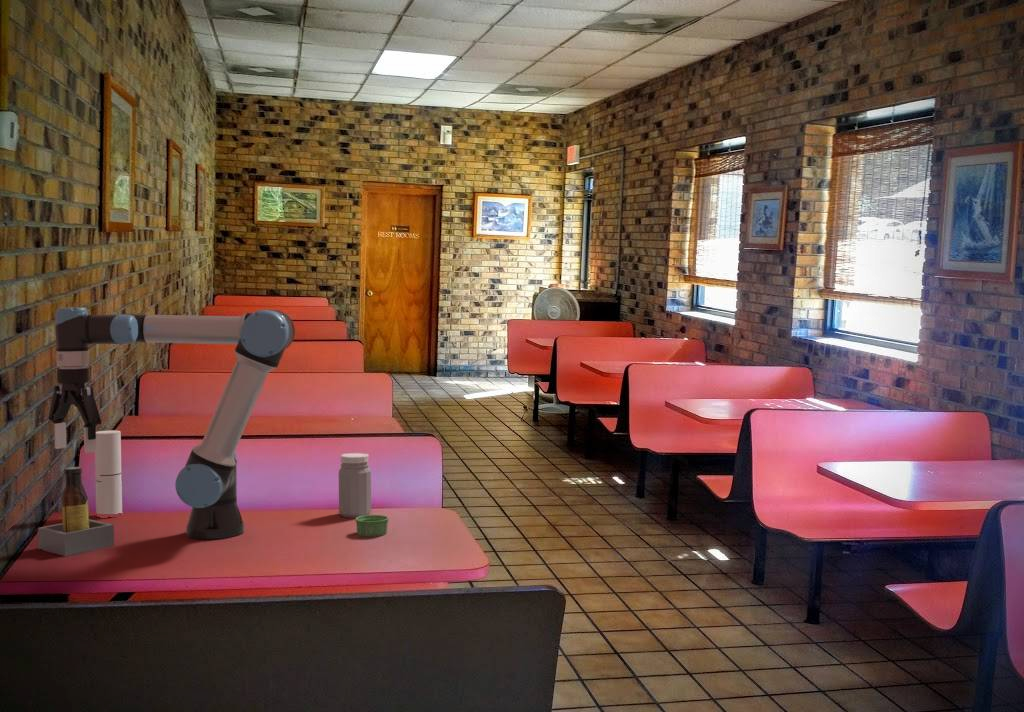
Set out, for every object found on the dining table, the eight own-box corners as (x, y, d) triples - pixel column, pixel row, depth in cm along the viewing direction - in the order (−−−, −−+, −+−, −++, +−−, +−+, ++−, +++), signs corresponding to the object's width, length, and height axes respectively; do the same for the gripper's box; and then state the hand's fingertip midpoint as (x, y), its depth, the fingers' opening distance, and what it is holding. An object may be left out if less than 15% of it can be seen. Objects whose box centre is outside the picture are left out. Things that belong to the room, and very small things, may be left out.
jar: (335, 512, 297) (334, 453, 296) (367, 510, 301) (366, 451, 300) (342, 519, 288) (342, 458, 287) (375, 516, 292) (375, 456, 291)
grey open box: (114, 545, 257) (113, 524, 256) (65, 556, 246) (64, 534, 245) (87, 539, 264) (86, 518, 263) (38, 549, 253) (37, 527, 253)
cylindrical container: (116, 518, 289) (114, 433, 288) (92, 518, 289) (90, 433, 288) (126, 513, 296) (124, 430, 295) (102, 513, 297) (100, 430, 295)
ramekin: (395, 533, 271) (395, 517, 271) (369, 539, 264) (369, 523, 264) (374, 528, 277) (374, 513, 277) (348, 534, 270) (348, 518, 270)
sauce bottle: (95, 542, 256) (93, 466, 255) (75, 548, 251) (73, 470, 250) (76, 540, 259) (75, 465, 258) (57, 545, 253) (55, 468, 252)
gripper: (32, 366, 257) (35, 448, 258) (86, 370, 242) (89, 456, 243) (60, 365, 263) (62, 444, 264) (114, 368, 248) (116, 452, 249)
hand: (75, 450), depth 253 cm, fingers open, 13 cm apart
